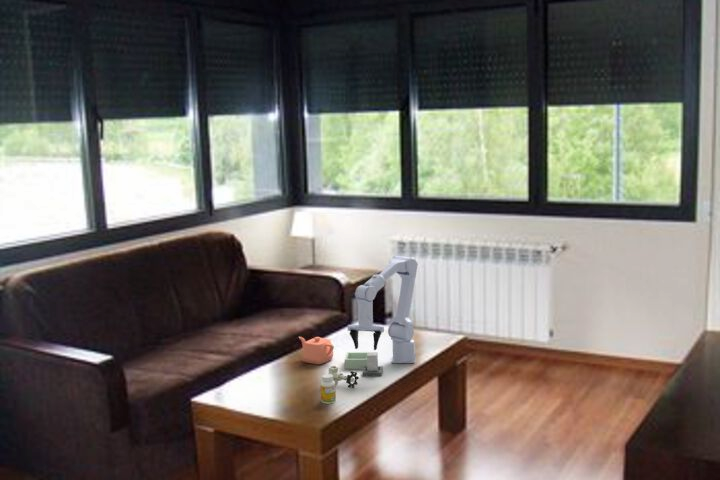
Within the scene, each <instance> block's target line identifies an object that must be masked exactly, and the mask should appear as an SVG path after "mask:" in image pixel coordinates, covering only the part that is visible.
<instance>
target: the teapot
mask: <svg viewBox="0 0 720 480" xmlns="http://www.w3.org/2000/svg"><path fill="white" fill-rule="evenodd" d="M298 338H299V340H300V341H301V345H302V361H303V363H307V364H308V363H309V364H312V365H321V364H325V363H327V362H329V361H330V360H332V359H333V357H334V349H335V347H334V345H333V343H332V341H331V339H330V338H329V339H328V338H324V337H320V336H315V337H313V338H311V339H308V340H306V339H305V338H304V337H302V336H298Z"/></svg>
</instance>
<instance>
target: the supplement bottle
mask: <svg viewBox="0 0 720 480" xmlns="http://www.w3.org/2000/svg"><path fill="white" fill-rule="evenodd" d="M321 379H322V381H321V382H320V401H321V402H322V404H326V405H327V404H328V405H329V404H334V403H335V402H336V400H337V396H336V395H337V394H336V384H335V381H333V375H332V374H328V373H325V374H323V375H322V376H321Z"/></svg>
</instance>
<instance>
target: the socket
mask: <svg viewBox="0 0 720 480" xmlns="http://www.w3.org/2000/svg"><path fill="white" fill-rule="evenodd" d="M378 368H379V372H367V366H364V368H363V369H362V377H382V375H383V369H384V367H383V366H382V365H381V366H379V365H378Z"/></svg>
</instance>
